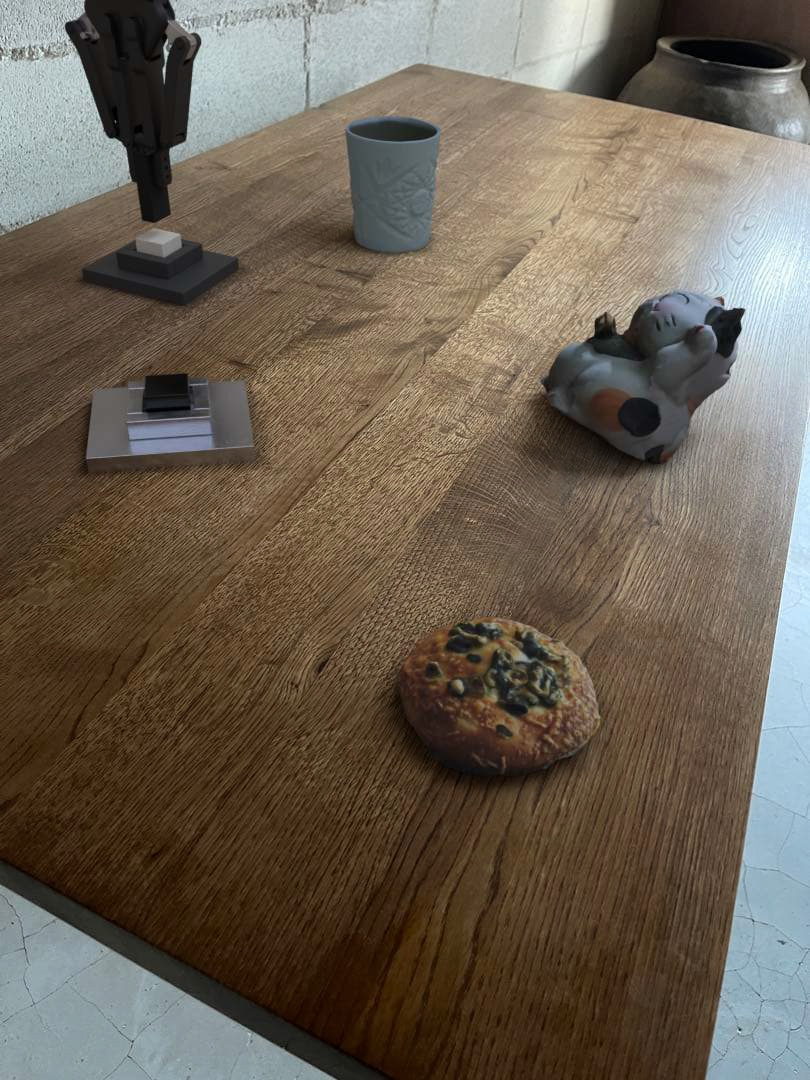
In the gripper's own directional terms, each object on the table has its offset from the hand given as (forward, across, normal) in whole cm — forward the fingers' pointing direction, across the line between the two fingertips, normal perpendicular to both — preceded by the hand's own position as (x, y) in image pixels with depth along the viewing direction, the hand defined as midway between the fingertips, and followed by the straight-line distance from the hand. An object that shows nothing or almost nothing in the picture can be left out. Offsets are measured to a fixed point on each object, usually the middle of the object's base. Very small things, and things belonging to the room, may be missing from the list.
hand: (156, 217), depth 91 cm
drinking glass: (+6, -16, -21) cm, 27 cm away
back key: (+3, 0, 0) cm, 3 cm away
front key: (+3, -18, +24) cm, 30 cm away
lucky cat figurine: (+6, -49, +6) cm, 50 cm away
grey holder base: (+6, -18, +24) cm, 31 cm away
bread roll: (+6, -50, +40) cm, 64 cm away
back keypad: (+6, 0, 0) cm, 6 cm away
